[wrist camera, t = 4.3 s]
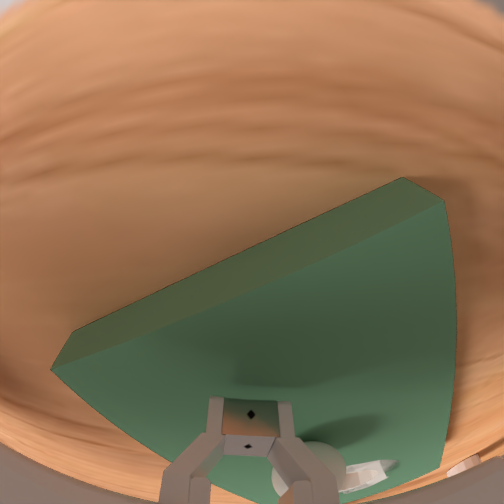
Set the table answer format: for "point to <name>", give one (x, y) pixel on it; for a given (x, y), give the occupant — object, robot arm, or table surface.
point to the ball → (326, 456)
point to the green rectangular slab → (296, 345)
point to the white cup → (464, 465)
